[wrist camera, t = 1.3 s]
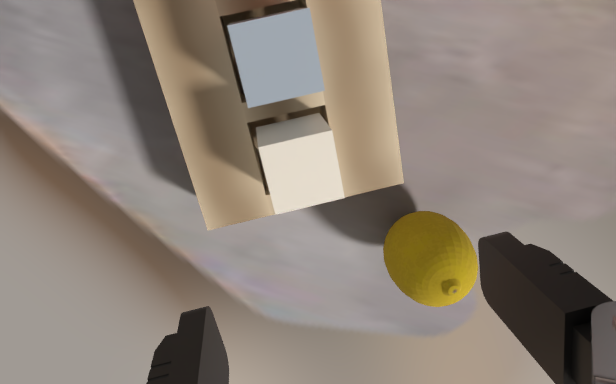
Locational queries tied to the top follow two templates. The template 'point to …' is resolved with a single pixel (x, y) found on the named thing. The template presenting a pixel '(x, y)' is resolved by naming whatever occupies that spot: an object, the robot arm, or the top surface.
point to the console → (243, 121)
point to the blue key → (277, 56)
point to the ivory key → (300, 163)
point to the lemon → (430, 258)
